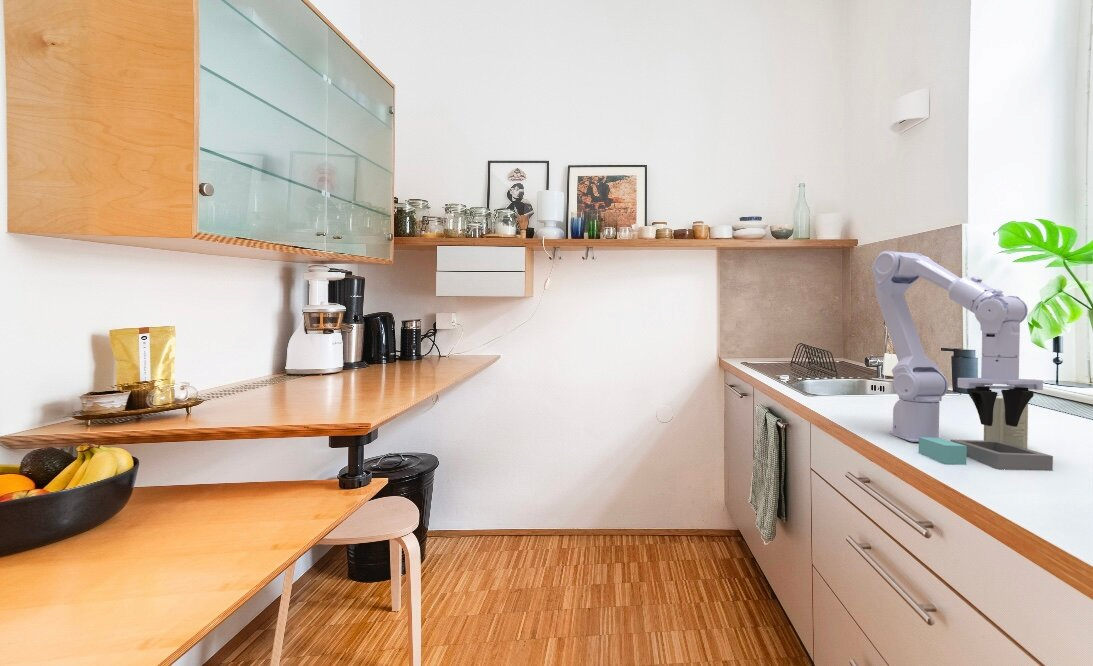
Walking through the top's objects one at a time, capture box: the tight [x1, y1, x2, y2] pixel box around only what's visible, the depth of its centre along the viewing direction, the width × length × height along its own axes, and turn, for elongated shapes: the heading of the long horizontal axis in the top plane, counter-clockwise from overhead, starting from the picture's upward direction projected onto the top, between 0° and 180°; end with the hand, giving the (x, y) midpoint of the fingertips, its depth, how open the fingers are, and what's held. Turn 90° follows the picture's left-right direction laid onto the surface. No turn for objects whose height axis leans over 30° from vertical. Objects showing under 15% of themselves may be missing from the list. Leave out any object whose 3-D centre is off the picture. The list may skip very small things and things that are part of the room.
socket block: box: [949, 439, 1054, 472], centre depth 107 cm, size 14×10×3 cm
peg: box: [918, 437, 967, 466], centre depth 108 cm, size 8×4×4 cm, turn 177°
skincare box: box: [983, 395, 1029, 449], centre depth 116 cm, size 6×4×12 cm
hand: (998, 425), depth 107 cm, fingers open, 4 cm apart
